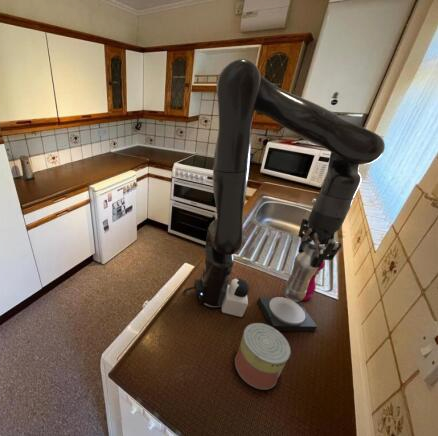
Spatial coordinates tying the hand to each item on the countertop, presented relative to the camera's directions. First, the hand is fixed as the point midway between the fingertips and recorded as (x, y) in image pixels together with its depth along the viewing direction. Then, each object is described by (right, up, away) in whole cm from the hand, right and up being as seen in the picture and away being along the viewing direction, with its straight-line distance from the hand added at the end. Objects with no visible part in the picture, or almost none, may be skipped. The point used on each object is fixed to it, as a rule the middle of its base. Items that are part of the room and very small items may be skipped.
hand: (308, 259), depth 71 cm
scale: (0, -22, +12) cm, 25 cm away
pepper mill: (+11, -17, +21) cm, 29 cm away
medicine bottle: (-18, -20, +15) cm, 31 cm away
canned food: (-17, -30, -3) cm, 35 cm away
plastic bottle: (0, -14, +8) cm, 16 cm away
